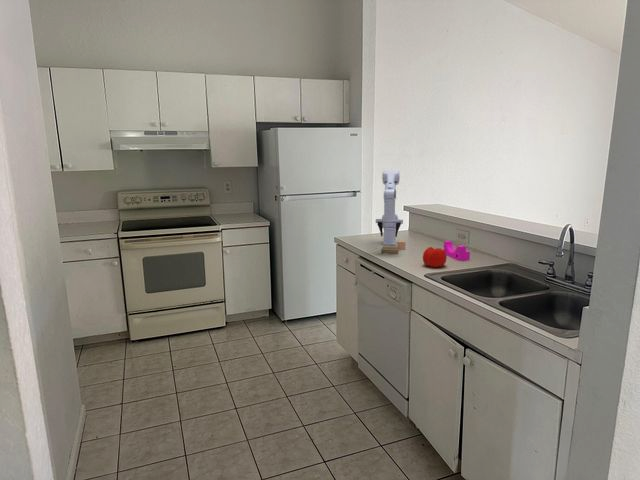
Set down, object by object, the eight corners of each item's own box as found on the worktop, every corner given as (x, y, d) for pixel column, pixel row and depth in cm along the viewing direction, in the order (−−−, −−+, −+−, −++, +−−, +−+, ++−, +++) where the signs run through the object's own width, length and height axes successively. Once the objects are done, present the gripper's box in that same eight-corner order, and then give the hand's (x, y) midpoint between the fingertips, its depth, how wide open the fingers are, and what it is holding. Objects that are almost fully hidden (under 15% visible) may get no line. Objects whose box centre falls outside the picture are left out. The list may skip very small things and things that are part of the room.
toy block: (469, 260, 233) (470, 246, 232) (458, 261, 231) (459, 247, 230) (453, 253, 247) (454, 240, 246) (443, 254, 246) (444, 241, 244)
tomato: (450, 267, 219) (451, 249, 217) (429, 269, 215) (430, 251, 213) (437, 262, 229) (438, 245, 227) (417, 264, 225) (418, 247, 223)
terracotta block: (397, 248, 260) (397, 240, 259) (405, 248, 259) (405, 240, 258) (397, 250, 256) (397, 241, 255) (405, 250, 255) (405, 242, 254)
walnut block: (382, 251, 256) (382, 246, 255) (398, 251, 254) (398, 246, 254) (381, 254, 247) (381, 249, 247) (398, 255, 246) (398, 249, 245)
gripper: (375, 212, 237) (374, 237, 240) (403, 212, 234) (402, 238, 237) (376, 210, 244) (376, 234, 247) (403, 210, 241) (402, 235, 244)
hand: (388, 236), depth 243 cm, fingers open, 7 cm apart
